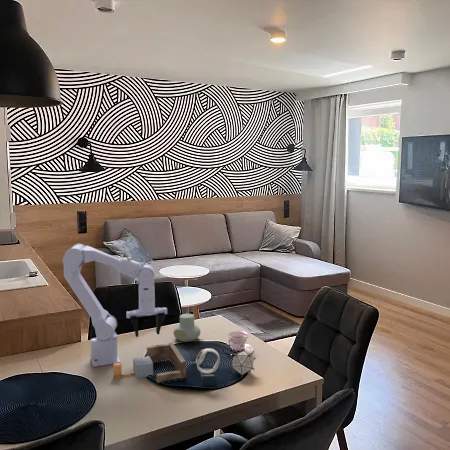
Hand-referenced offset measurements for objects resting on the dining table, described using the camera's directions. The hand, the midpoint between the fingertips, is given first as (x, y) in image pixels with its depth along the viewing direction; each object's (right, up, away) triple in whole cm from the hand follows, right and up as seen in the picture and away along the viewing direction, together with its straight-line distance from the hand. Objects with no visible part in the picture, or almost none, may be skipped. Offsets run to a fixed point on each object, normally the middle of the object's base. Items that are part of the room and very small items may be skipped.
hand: (147, 334), depth 171 cm
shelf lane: (+8, -11, -8) cm, 15 cm away
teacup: (+33, -9, +10) cm, 36 cm away
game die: (+34, -11, -10) cm, 37 cm away
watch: (+23, -12, -16) cm, 30 cm away
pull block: (-3, -11, -12) cm, 16 cm away
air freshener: (+13, -7, +21) cm, 26 cm away
